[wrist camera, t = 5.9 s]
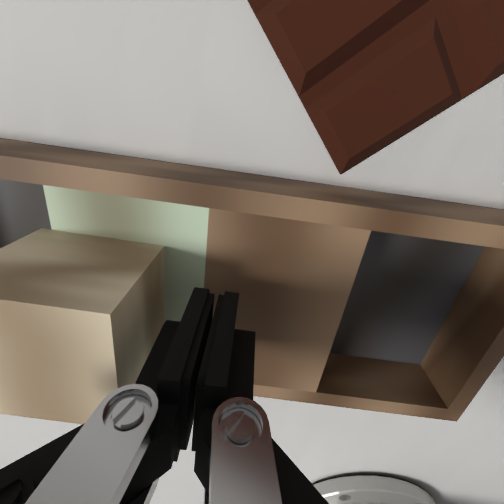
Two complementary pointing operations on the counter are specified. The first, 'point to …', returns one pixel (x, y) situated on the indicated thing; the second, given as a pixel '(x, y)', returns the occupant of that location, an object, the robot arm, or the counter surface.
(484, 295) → the box
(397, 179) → the counter surface
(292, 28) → the chocolate bar
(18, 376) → the block
